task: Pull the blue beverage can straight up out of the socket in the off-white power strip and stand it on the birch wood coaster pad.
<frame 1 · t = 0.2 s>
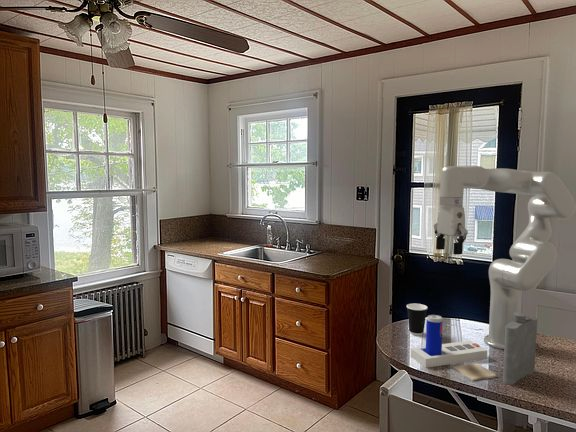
hand: (448, 251, 153), 36 cm above the table, tool pointing down, fingers open, 9 cm apart
coaster pad: (474, 372, 141), on the table
power strip: (448, 357, 152), on the table
hip flask: (517, 376, 138), on the table
beverage can: (433, 360, 150), resting in power strip
dixie cup: (416, 334, 174), on the table
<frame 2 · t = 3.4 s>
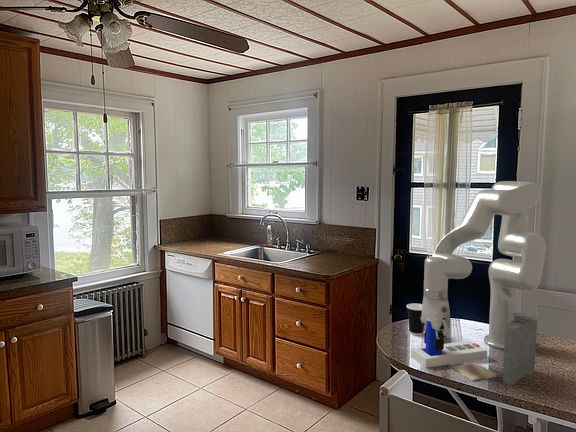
hand: (433, 345, 150), 5 cm above the table, tool pointing down, fingers closed on beverage can, 5 cm apart
beverage can: (433, 360, 150), resting in power strip, touching gripper
everything else where it was.
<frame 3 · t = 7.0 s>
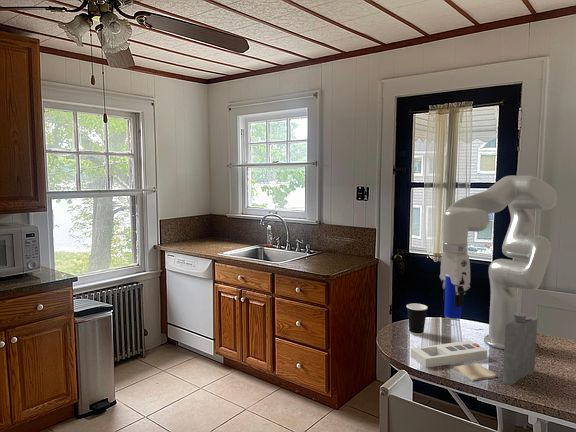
hand: (453, 302, 144), 21 cm above the table, tool pointing down, fingers closed on beverage can, 5 cm apart
beverage can: (452, 318, 144), point 16 cm above the table, touching gripper
everything else where it was.
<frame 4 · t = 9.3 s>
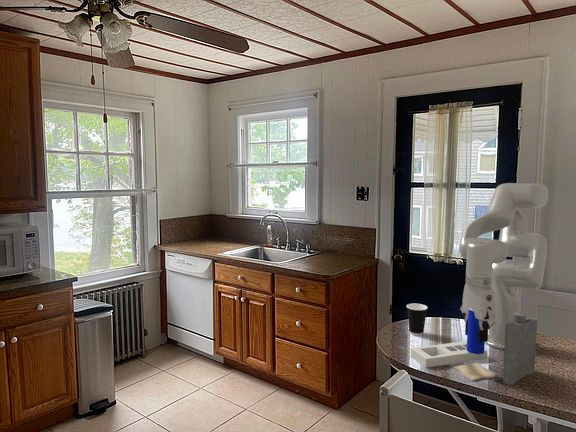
hand: (476, 337, 139), 12 cm above the table, tool pointing down, fingers closed on beverage can, 5 cm apart
beverage can: (475, 353, 140), point 6 cm above the table, touching gripper
everything else where it was.
when the fingers open (7 cm above the table, at t = 10.6 s): beverage can drops 1 cm, resting on coaster pad.
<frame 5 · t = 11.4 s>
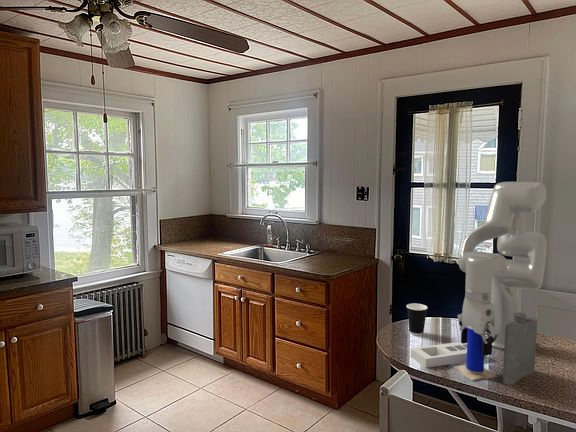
hand: (475, 348, 140), 8 cm above the table, tool pointing down, fingers open, 9 cm apart
beverage can: (474, 371, 141), resting on coaster pad
everything else where it was.
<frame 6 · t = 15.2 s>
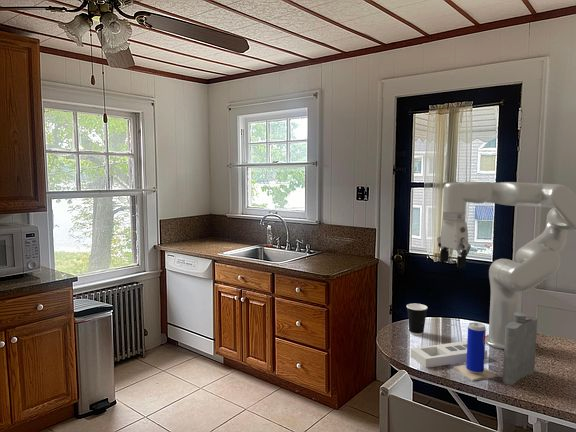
hand: (452, 264, 159), 30 cm above the table, tool pointing down, fingers open, 9 cm apart
nothing on the table moved.
at the end: beverage can 0.1 cm off-centre on the coaster pad, point 0.4 cm above the coaster pad's base; beverage can tilted 0°; the gripper is holding nothing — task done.
